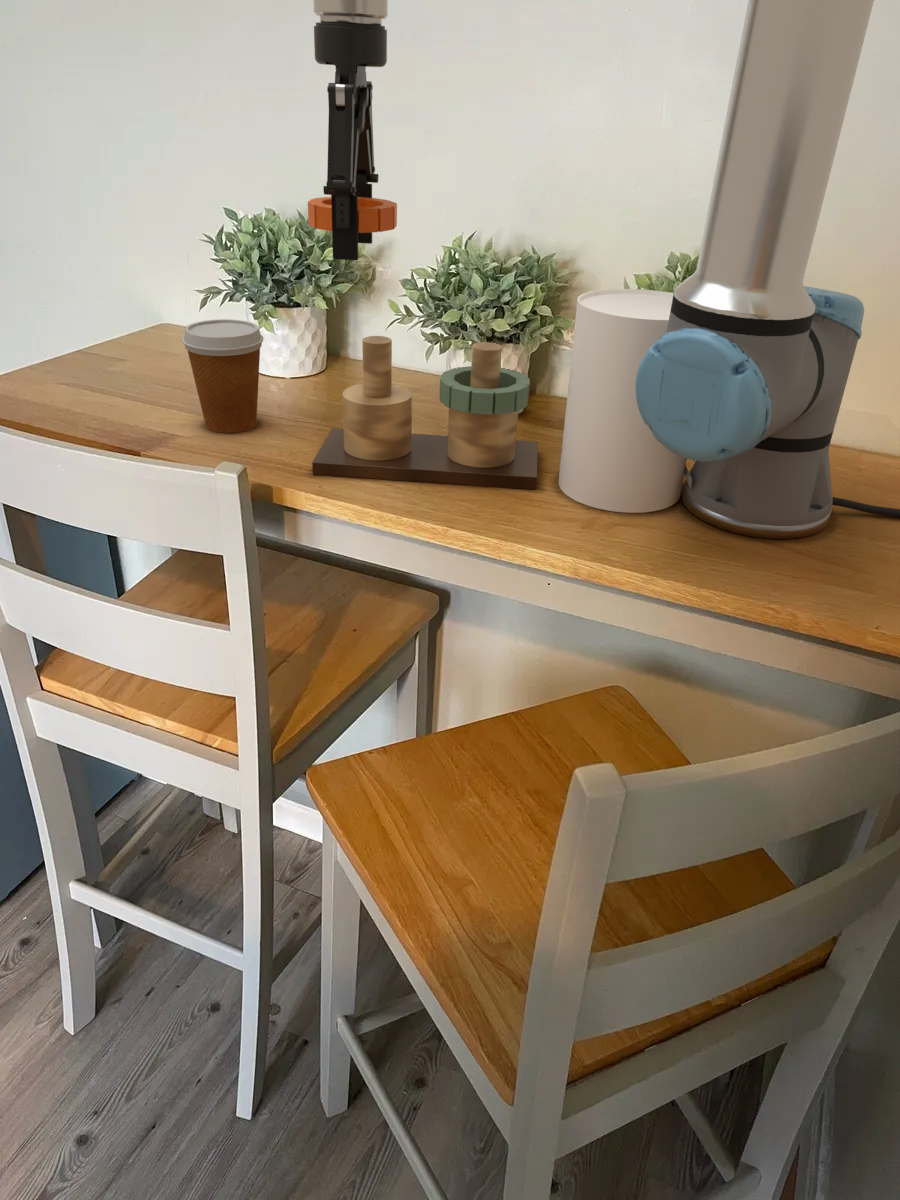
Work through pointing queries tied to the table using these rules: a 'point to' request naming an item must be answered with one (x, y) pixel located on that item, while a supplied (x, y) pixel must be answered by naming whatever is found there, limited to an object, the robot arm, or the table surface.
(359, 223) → the orange ring
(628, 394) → the canister
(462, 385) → the sage ring
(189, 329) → the disposable coffee cup
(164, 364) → the table surface
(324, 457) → the ring board
